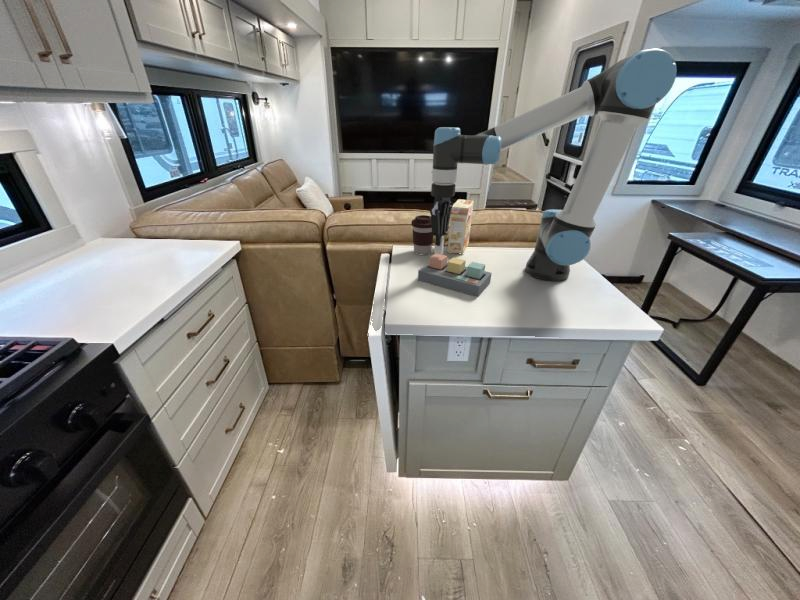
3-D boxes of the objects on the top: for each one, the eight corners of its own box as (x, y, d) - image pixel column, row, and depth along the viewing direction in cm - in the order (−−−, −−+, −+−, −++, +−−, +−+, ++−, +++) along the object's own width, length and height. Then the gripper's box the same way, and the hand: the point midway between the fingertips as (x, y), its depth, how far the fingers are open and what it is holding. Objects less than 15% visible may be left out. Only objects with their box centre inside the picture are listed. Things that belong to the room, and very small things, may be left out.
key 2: (484, 274, 110) (485, 264, 108) (479, 279, 106) (480, 269, 104) (471, 271, 112) (472, 261, 110) (466, 275, 108) (467, 266, 107)
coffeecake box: (463, 255, 135) (468, 208, 126) (446, 252, 138) (450, 206, 128) (469, 243, 148) (474, 200, 138) (453, 241, 150) (457, 198, 140)
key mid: (464, 269, 113) (465, 260, 111) (459, 274, 109) (460, 264, 108) (452, 266, 115) (453, 257, 113) (447, 271, 112) (447, 261, 110)
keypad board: (490, 283, 113) (491, 271, 111) (477, 297, 104) (479, 285, 102) (433, 268, 123) (434, 258, 121) (417, 280, 114) (418, 269, 112)
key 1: (446, 265, 116) (447, 256, 114) (440, 269, 113) (441, 260, 111) (435, 262, 118) (435, 253, 116) (429, 266, 115) (429, 257, 113)
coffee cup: (412, 247, 143) (412, 213, 135) (434, 248, 142) (436, 214, 134) (409, 255, 134) (410, 220, 127) (433, 257, 133) (435, 221, 126)
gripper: (441, 178, 108) (437, 245, 120) (423, 184, 98) (420, 257, 110) (462, 181, 104) (456, 249, 116) (445, 187, 95) (440, 261, 107)
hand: (438, 253), depth 113 cm, fingers closed
